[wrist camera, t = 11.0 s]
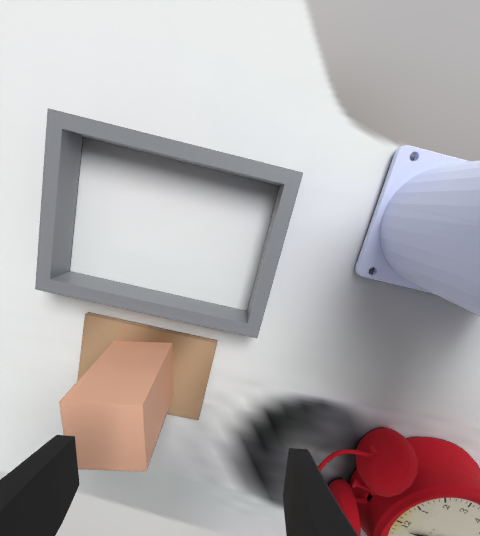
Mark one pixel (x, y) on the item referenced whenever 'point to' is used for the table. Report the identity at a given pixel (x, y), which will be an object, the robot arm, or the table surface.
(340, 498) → the alarm clock
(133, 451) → the block
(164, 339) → the walnut pad
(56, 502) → the robot arm
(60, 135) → the gray rectangular frame
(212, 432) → the table surface
